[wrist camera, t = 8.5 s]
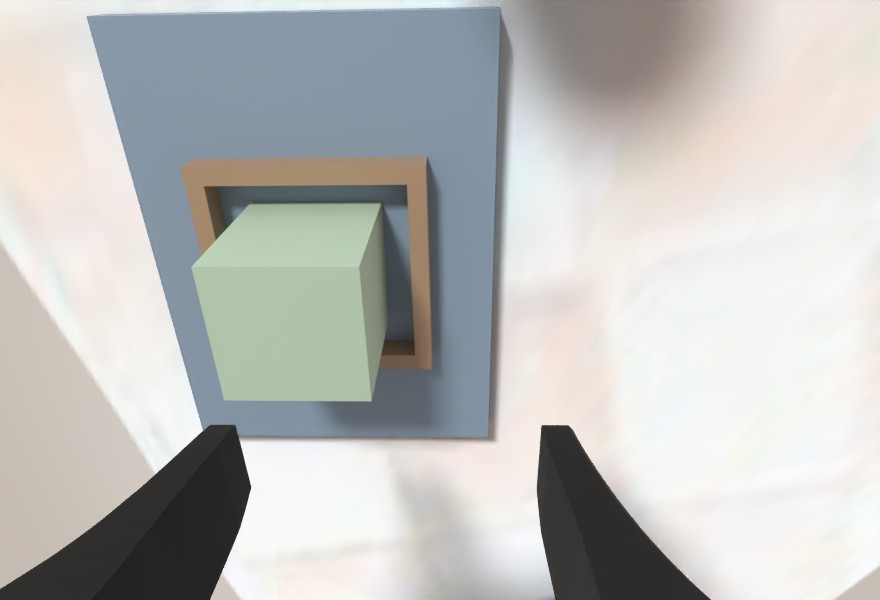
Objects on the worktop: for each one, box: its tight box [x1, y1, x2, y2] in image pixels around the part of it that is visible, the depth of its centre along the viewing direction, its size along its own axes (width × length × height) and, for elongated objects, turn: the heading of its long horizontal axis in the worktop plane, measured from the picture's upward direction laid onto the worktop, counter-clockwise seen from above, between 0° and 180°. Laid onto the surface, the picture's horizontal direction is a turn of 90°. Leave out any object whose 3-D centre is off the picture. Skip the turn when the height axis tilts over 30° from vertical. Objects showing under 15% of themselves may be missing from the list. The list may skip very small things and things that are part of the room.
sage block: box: [191, 201, 389, 401], centre depth 18 cm, size 4×4×5 cm
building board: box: [87, 7, 500, 437], centre depth 21 cm, size 16×12×2 cm
